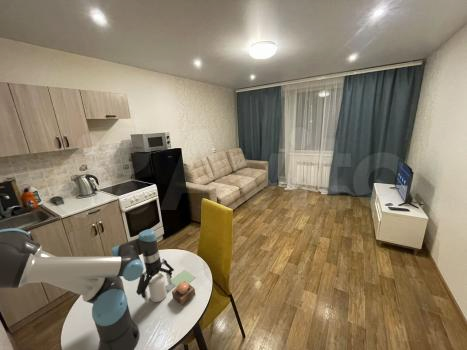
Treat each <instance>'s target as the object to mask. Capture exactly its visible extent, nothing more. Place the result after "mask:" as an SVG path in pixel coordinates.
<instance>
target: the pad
mask: <svg viewBox="0 0 467 350" xmlns="http://www.w3.org/2000/svg"><path fill="white" fill-rule="evenodd" d="M196 278H197V277H196V276H195V275H194V274H191V273H190V272H189V271H187V270H186V269H183V270H182V271H181V272H179V273H178V274H177V275H175V276H174V277H173V278H171V283H172V284H173V285H175V287H176V288H177V286H178V285H179V284H180V283H182V282H184V281H185V282H187V283H188V284H189V285H190V283H191V282H193V281H194V280H195V279H196Z"/></svg>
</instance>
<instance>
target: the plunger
mask: <svg viewBox="0 0 467 350" xmlns="http://www.w3.org/2000/svg"><path fill="white" fill-rule="evenodd" d="M189 285H190V284H189ZM189 285H188V283H187V282H182V283H180V284H179V285H178V286H177V287H176V288H177V291H178V292H179V293H180V295H182V296H183V295H184V294H185V293H186V292H187V291H188V288H189Z"/></svg>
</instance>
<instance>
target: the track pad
mask: <svg viewBox="0 0 467 350" xmlns="http://www.w3.org/2000/svg"><path fill="white" fill-rule="evenodd" d="M175 287H176V286H175V285H174V284H173V283H172V284H171V285H170V284H168V283H167V285H166V291H167V292H168V293H169V292H170V291H171V290H174V289H175Z"/></svg>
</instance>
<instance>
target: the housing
mask: <svg viewBox="0 0 467 350" xmlns="http://www.w3.org/2000/svg"><path fill="white" fill-rule="evenodd" d="M184 282H185V281H184ZM188 285H189V288H188V291H187V292H186V293H185V294H184V295H183V296H182V295H180V293H179V292H178V291H177V287H176V288H175V287H174V288H173V289H172V291H171V294H172V299H173V300H174V301H175V302H177V303H178V304H179V305H180V306H181V307H184V306H185V305H186V304H187V303H189V301H191V299H193V298H194V297H195V296H196V288H195V287H194V286H192V285H191V284H190V283H189V284H188Z"/></svg>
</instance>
